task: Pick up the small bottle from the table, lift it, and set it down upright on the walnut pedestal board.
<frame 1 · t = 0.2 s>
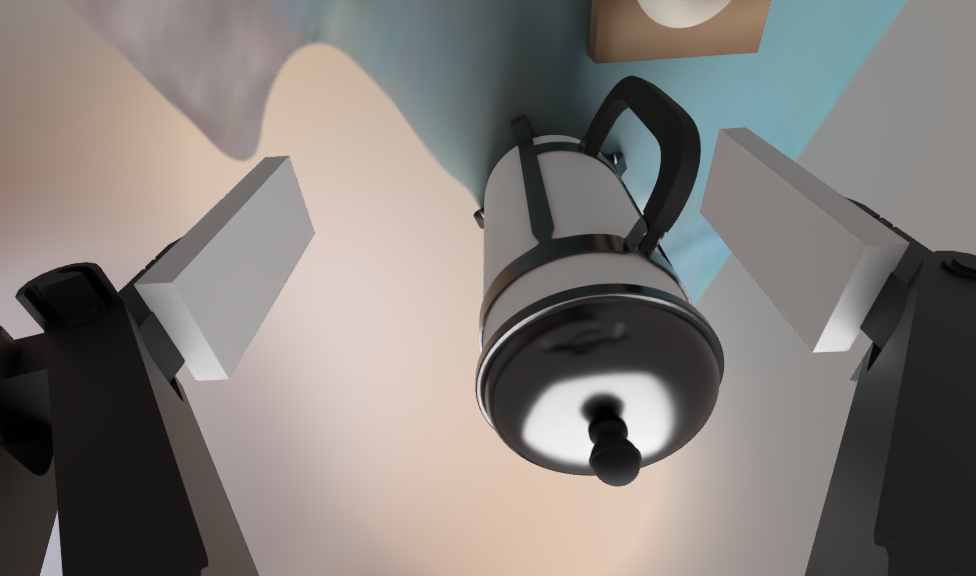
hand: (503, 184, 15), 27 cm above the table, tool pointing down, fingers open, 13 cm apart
coffee press: (548, 174, 43), on the table
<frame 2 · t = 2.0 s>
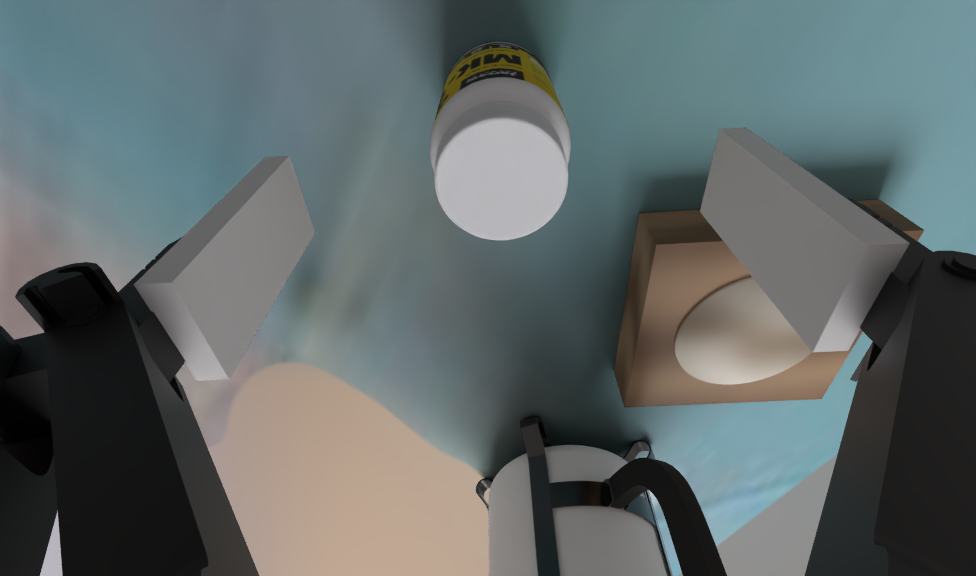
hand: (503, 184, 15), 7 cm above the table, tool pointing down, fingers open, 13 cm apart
coffee press: (562, 453, 37), on the table
supplement bottle: (496, 98, 20), on the table
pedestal: (727, 297, 27), on the table
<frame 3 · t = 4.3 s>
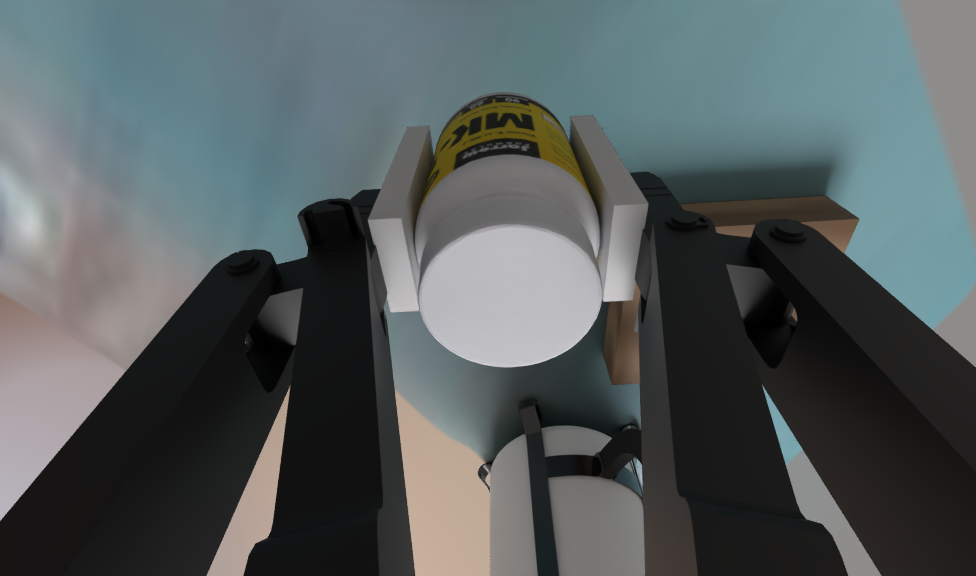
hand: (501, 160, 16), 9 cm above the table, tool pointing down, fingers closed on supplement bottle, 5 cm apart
coffee press: (558, 437, 40), on the table
supplement bottle: (501, 157, 17), point 9 cm above the table, touching gripper
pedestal: (701, 284, 31), on the table
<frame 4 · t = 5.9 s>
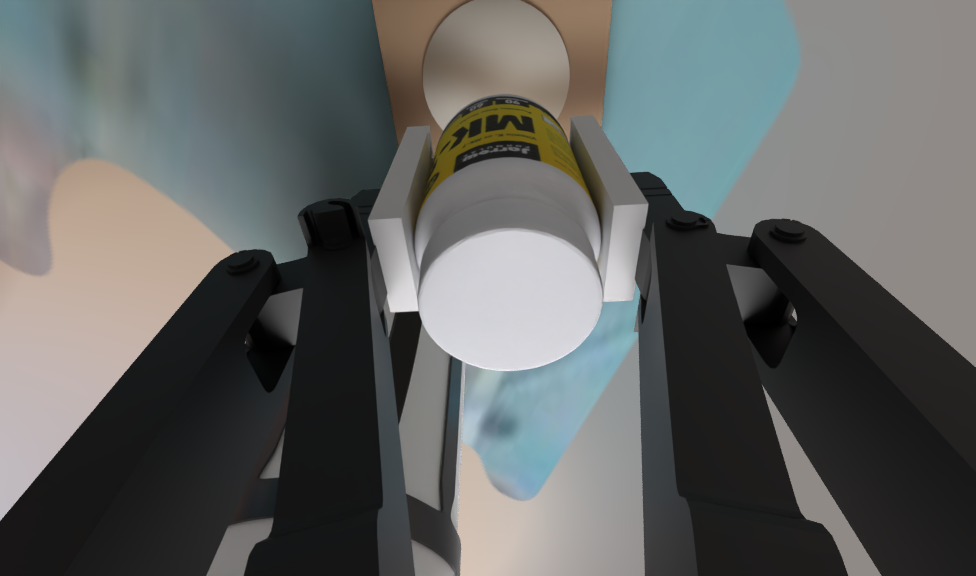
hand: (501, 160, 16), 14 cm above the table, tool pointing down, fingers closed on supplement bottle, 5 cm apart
coffee press: (396, 287, 38), on the table
supplement bottle: (501, 158, 17), point 14 cm above the table, touching gripper
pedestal: (495, 70, 28), on the table
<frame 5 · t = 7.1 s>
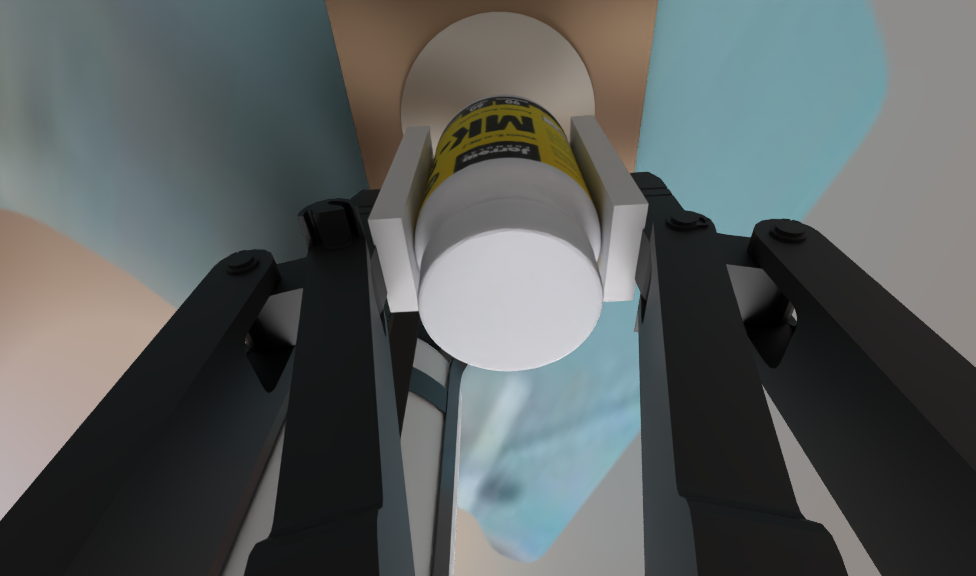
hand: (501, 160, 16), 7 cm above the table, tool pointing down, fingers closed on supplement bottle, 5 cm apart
coffee press: (377, 350, 32), on the table
supplement bottle: (501, 159, 17), point 6 cm above the table, touching gripper
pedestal: (496, 102, 22), on the table
when the fingers open (4 cm above the table, at t = 8.0 s): supplement bottle stays where it is, resting on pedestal.
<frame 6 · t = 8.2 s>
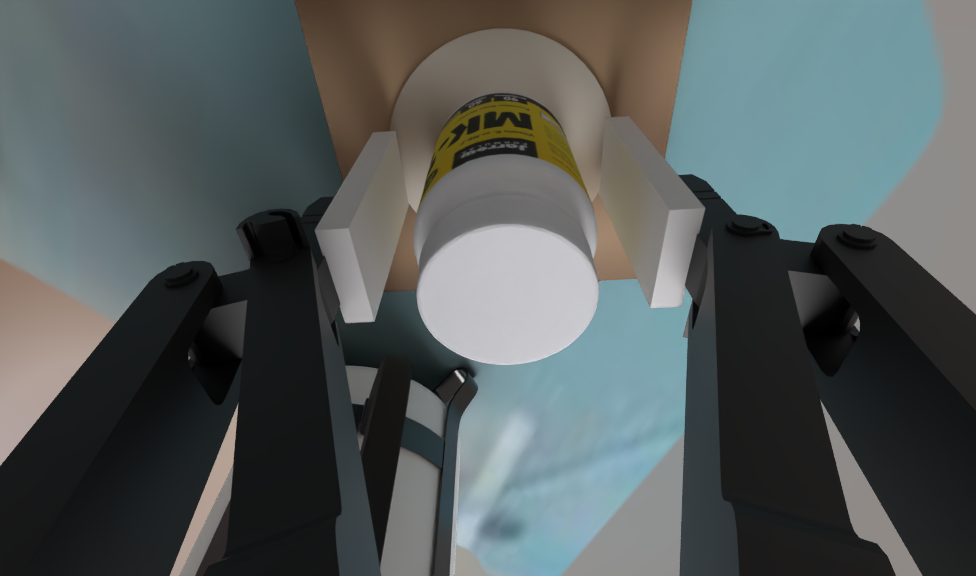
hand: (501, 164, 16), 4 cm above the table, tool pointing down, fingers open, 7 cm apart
coffee press: (369, 388, 29), on the table
supplement bottle: (499, 155, 17), point 3 cm above the table, touching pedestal
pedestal: (498, 126, 19), on the table
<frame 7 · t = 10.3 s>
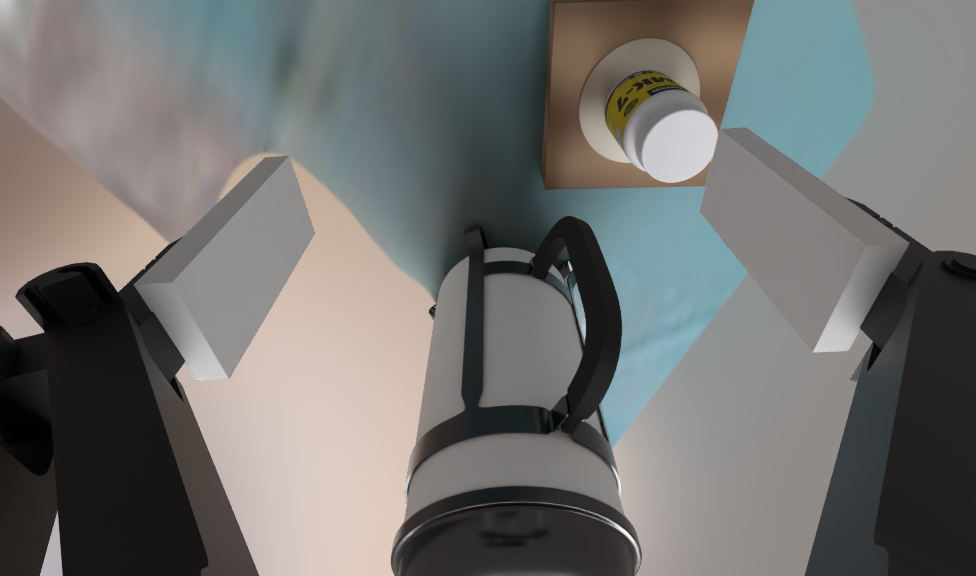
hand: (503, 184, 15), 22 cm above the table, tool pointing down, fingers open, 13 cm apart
coffee press: (504, 275, 43), on the table
supplement bottle: (637, 105, 31), point 3 cm above the table, touching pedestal
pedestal: (627, 94, 34), on the table
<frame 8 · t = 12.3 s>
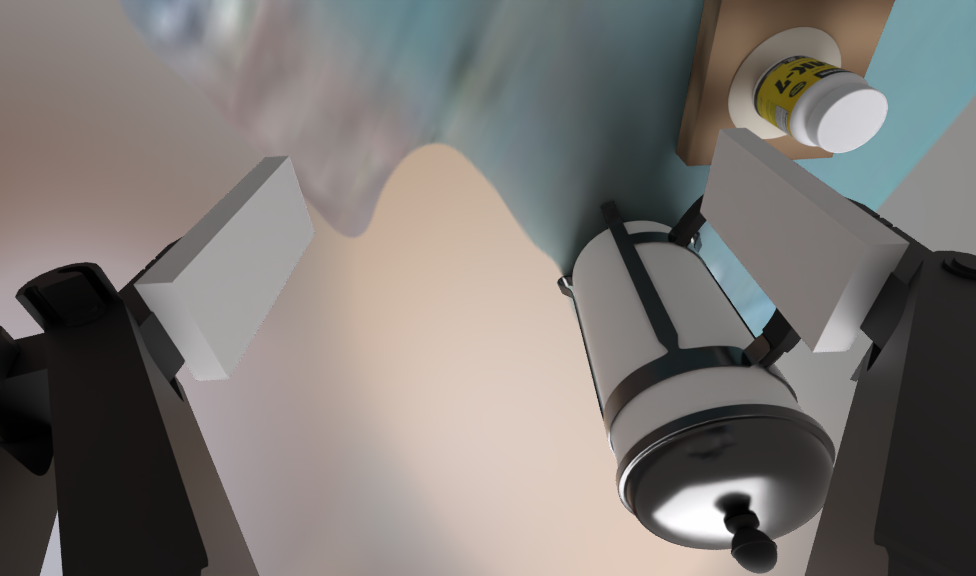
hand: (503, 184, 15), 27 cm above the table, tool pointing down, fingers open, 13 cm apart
coffee press: (628, 247, 48), on the table
supplement bottle: (781, 87, 35), point 3 cm above the table, touching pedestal
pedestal: (763, 77, 38), on the table
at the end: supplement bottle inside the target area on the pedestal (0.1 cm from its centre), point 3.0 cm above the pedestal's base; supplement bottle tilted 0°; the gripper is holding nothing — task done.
